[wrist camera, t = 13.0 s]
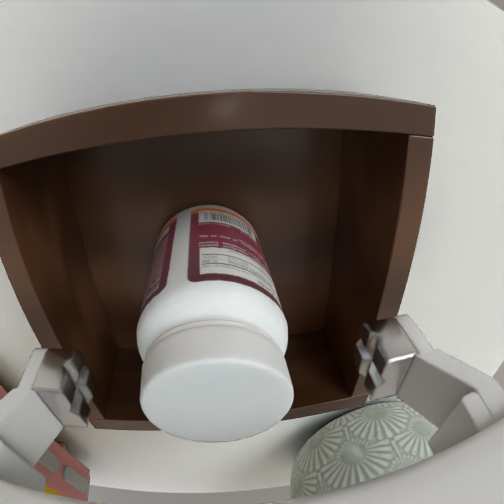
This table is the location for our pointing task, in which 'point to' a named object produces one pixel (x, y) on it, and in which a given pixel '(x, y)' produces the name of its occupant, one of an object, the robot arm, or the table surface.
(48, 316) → the holder
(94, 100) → the table surface
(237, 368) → the pill bottle
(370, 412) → the planter
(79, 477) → the alarm clock
